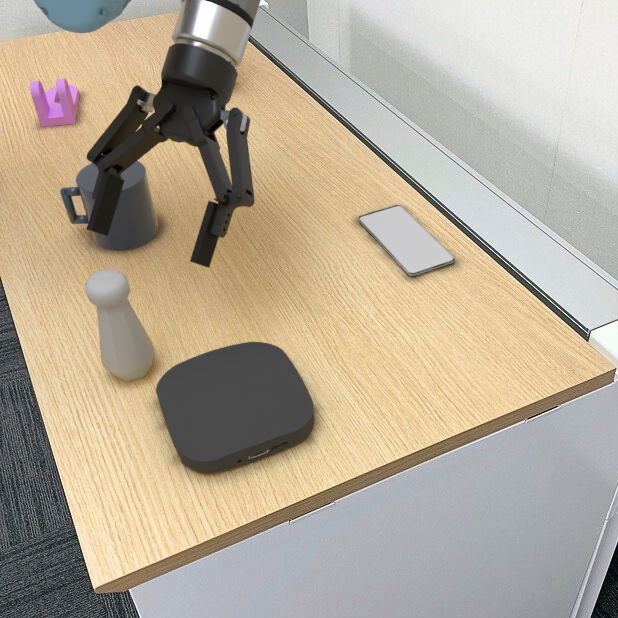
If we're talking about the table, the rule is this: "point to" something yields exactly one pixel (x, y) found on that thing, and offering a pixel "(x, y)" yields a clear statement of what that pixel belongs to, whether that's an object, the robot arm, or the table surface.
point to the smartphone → (406, 240)
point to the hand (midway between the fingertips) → (146, 248)
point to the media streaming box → (234, 406)
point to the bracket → (55, 103)
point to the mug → (117, 208)
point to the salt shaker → (119, 326)
